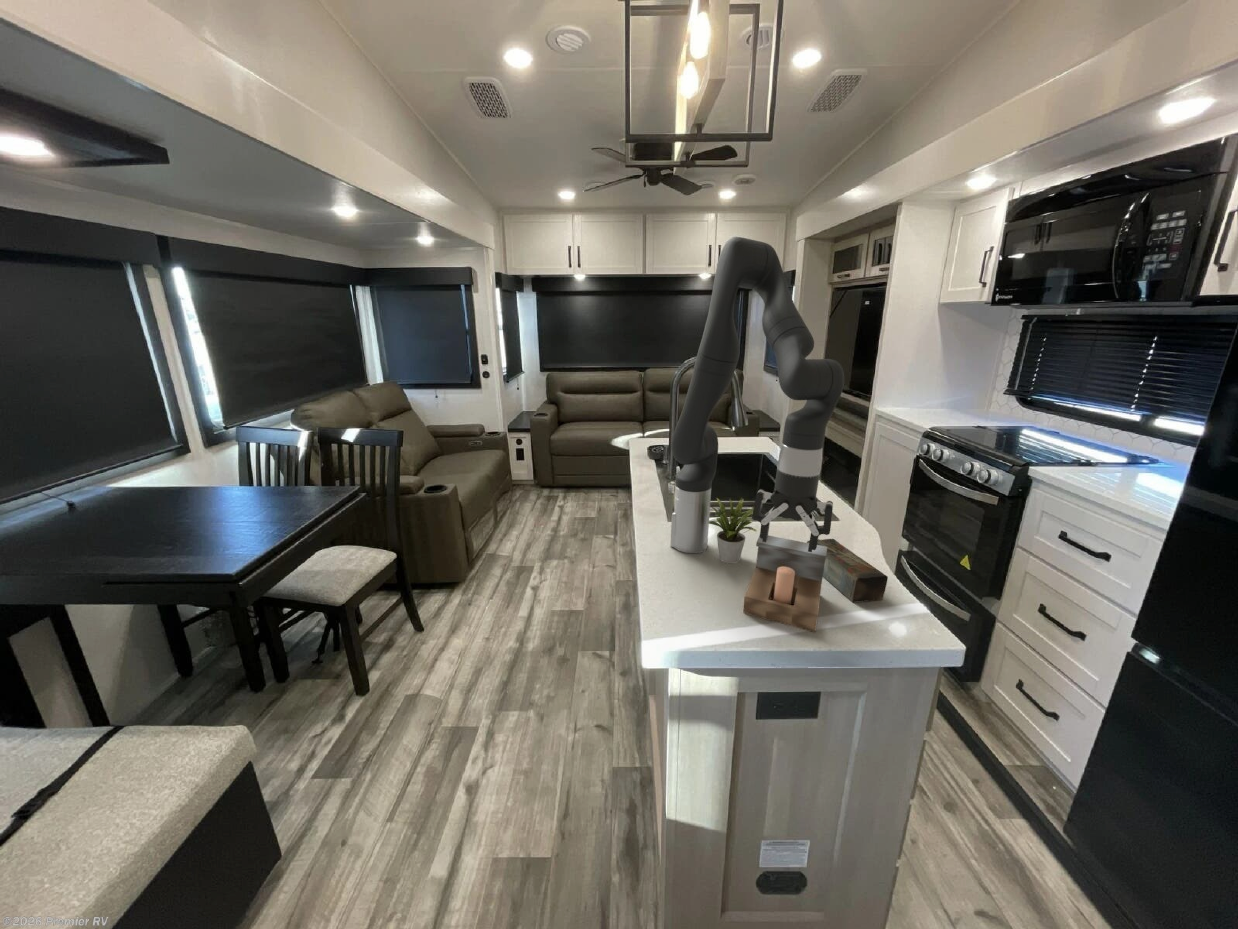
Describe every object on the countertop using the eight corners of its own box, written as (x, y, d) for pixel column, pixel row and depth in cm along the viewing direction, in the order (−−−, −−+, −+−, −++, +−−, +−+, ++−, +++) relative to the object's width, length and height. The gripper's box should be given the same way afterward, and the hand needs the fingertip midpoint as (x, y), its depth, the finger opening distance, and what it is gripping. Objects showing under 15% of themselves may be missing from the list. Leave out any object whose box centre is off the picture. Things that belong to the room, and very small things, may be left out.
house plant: (762, 578, 107) (769, 515, 102) (703, 572, 110) (707, 510, 105) (757, 550, 120) (763, 492, 115) (704, 545, 123) (708, 488, 118)
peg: (773, 606, 97) (778, 565, 94) (790, 610, 95) (795, 568, 92) (771, 615, 94) (776, 572, 91) (788, 619, 92) (794, 577, 89)
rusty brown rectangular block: (830, 558, 117) (834, 535, 115) (885, 601, 99) (891, 575, 97) (802, 561, 116) (806, 537, 114) (853, 605, 98) (858, 578, 96)
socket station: (742, 612, 95) (748, 561, 91) (755, 579, 107) (760, 533, 103) (815, 632, 89) (823, 578, 85) (819, 595, 101) (827, 546, 97)
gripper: (841, 468, 85) (827, 545, 90) (763, 457, 91) (754, 529, 96) (839, 480, 78) (824, 563, 84) (755, 467, 84) (746, 545, 90)
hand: (786, 545), depth 90 cm, fingers open, 8 cm apart
